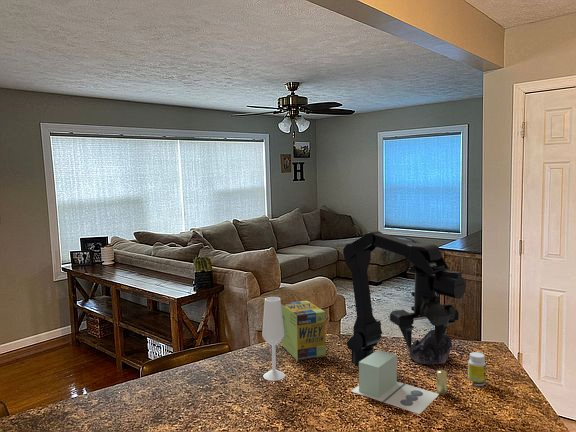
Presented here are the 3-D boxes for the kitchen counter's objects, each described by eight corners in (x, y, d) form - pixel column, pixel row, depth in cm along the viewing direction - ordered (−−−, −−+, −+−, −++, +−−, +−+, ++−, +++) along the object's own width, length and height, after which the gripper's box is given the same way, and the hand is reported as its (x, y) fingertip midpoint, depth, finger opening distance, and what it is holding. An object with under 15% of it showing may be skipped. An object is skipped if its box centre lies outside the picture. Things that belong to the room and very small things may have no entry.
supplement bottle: (487, 387, 131) (487, 358, 131) (469, 385, 132) (470, 357, 132) (483, 379, 136) (484, 351, 135) (466, 378, 137) (467, 350, 136)
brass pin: (434, 396, 126) (435, 372, 126) (438, 393, 128) (438, 368, 128) (444, 399, 125) (444, 374, 124) (447, 395, 127) (448, 371, 126)
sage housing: (358, 391, 128) (358, 362, 127) (377, 377, 136) (377, 349, 135) (378, 398, 124) (378, 367, 123) (396, 383, 132) (396, 354, 131)
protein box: (297, 361, 151) (296, 315, 150) (281, 345, 166) (280, 303, 164) (326, 356, 155) (325, 311, 154) (307, 341, 169) (307, 299, 168)
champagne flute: (264, 370, 145) (262, 295, 142) (285, 371, 144) (284, 295, 142) (262, 380, 138) (260, 302, 136) (284, 380, 138) (282, 302, 135)
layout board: (350, 395, 128) (350, 366, 127) (373, 378, 138) (373, 351, 137) (419, 418, 115) (419, 387, 115) (439, 398, 125) (439, 369, 125)
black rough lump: (399, 361, 152) (401, 333, 150) (417, 345, 162) (419, 318, 160) (439, 374, 144) (441, 345, 142) (455, 357, 154) (457, 329, 152)
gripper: (412, 302, 116) (410, 361, 118) (474, 295, 122) (471, 352, 123) (389, 290, 126) (388, 345, 128) (447, 284, 132) (445, 337, 134)
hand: (423, 345), depth 128 cm, fingers open, 9 cm apart
